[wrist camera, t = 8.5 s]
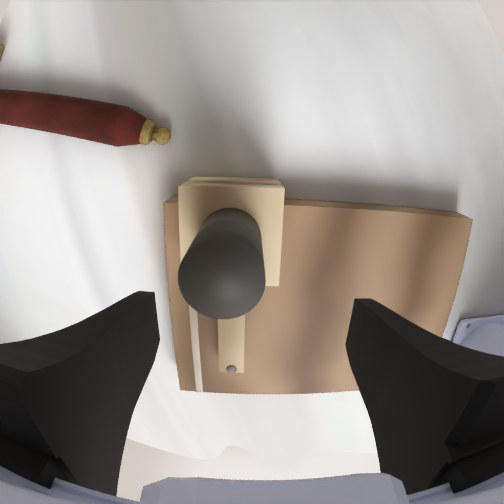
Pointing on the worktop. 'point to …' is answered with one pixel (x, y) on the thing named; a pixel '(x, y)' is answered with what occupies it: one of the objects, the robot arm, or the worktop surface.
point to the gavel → (78, 118)
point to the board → (323, 293)
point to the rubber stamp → (229, 252)
